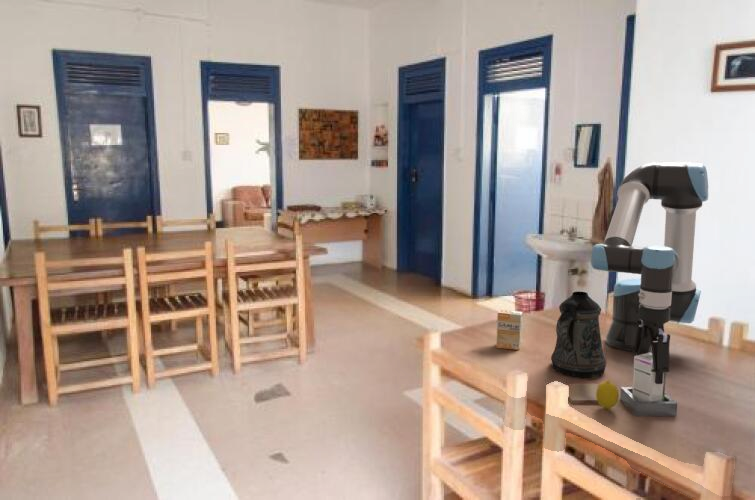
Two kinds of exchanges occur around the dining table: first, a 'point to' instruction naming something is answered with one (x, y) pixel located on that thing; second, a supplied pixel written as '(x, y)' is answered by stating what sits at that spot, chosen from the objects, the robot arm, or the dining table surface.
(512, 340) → the supplement box
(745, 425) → the dining table surface
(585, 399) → the walnut board
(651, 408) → the metal collar
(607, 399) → the lemon
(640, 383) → the syrup box
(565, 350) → the beer stein
